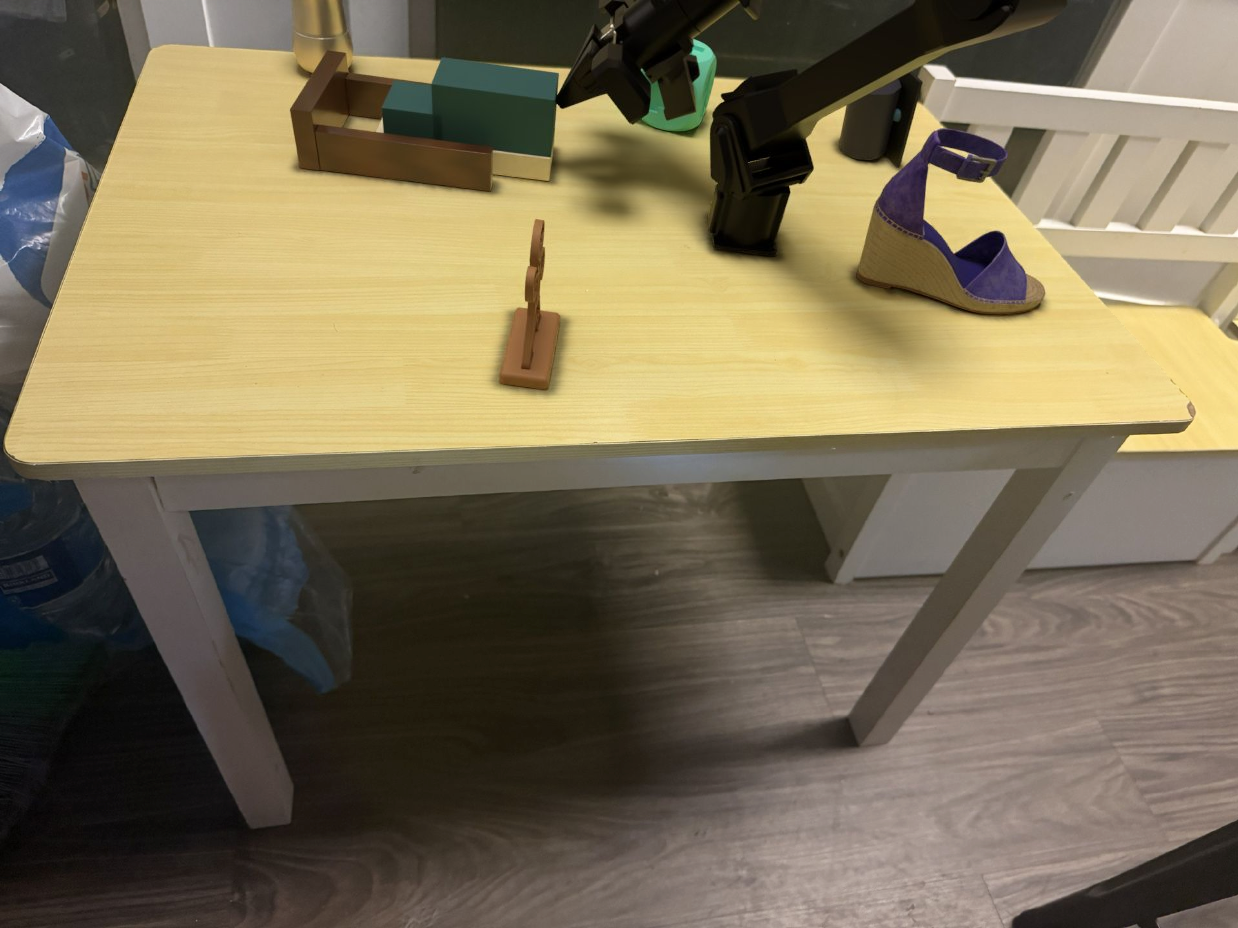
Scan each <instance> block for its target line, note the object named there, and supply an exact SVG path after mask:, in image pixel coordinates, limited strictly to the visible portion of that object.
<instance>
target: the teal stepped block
mask: <svg viewBox="0 0 1238 928" xmlns="http://www.w3.org/2000/svg"><path fill="white" fill-rule="evenodd" d="M559 77H560V73H559V72H554V71H547V70H540V69H532V68H524V67H518V66H517V67H516V66H512V65H511V66H510V65H503V64H496V63H488V62H480V61H475V60H474V61H473V60H466V59H460V58H459V59H458V58H451V57H444V56H442V57H441V58H440V61H439V63H438V66H437V69H436V71H435V73H434V76H433V79H432V81H431V83H430V84H431V85H426V84H419V83H411V82H404V81H396V80H394V82H393V84H392V86H391V89H390V91H389V93H388V95H387V97H386V99H385V101H384V104H383V106H382V119H380V121H379V124H378V126H377V128H376V130H375V132H380V133H388V134H395V135H403V136H411V137H418V138H426V139H434V140H441V141H449V142H457V143H465V144H472V145H480V146H488V147H493V175H496V176H497V175H498V176H504V177H505V176H506V177H514V178H521V179H530V180H538V181H545V182H549V181H550V178H551V172H552V171H551V170H552V165H553V163H552V162H553V158H554V157H553V155H554V150H555V137H556V135H555V134H556V120H557V108H558V107H557V106H558V105H557V103H556V97H557V95H558V93H559V91H558V90H559Z"/></svg>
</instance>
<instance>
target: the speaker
mask: <svg viewBox="0 0 1238 928" xmlns="http://www.w3.org/2000/svg"><path fill="white" fill-rule="evenodd" d="M923 83H924V82H923V80H921V79H920V78H919V77H918V76H917V75H916V74H915V73H914V72H913V70H912V71H911V72H909V73H907V74H905V75H903V76H901V77H899V78H897V79H895V80H894V81H892V82H890V83H888V84H886V85H884V86H882V87H880V88H878V89H876V90H875V91H873V92H871V93H869V94H867V95H865V96H863V97H861V98H859V99H858V100H856V101H854V102H852V103H850V104H848V105H846V106H845V107H846V108H845V111H844V116H843V122H842V126H841V132H840V135H839V142H838V145H839V151H840V152H841V153H842V154H843V155H844V156H848V157H850V158H853V159H856V160H871V161H873V160H876V159H879V158H880V157H881V156H883V155H885V156H886V157H887V158H888V159H889V160H890V161H891V163H892V164H893V165H894V166H895V167H896V168H900V167H901V166H902V162H903V157H904V154H905V149H906V146H907V142H908V139H909V136H910V132H911V127H912V123H913V120H914V116H915V114H916V109H917V106H918V101H919V99H920V98H919V97H920V95H921V90H922V87H923Z"/></svg>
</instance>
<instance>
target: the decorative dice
mask: <svg viewBox="0 0 1238 928" xmlns="http://www.w3.org/2000/svg"><path fill="white" fill-rule="evenodd" d="M693 43H694V47H693V50H692V52H691V53H690V55H696V57H697V61H698V65H699V70H700V76H699V77H698V78H697V79H696V80H695V81H694V82H693V83H692V84H693V86H694V93H695V100H696V112H695V113H692V114H689V115H685V116H682V117H679V118H675V119H672V120H668V121H667V120H666V118H665V115H664V104H663V100H662V97H661V93H660V90H659V86H658V82H657V81H656V82H654V83H653V84H651V102H650V108H649V113H648V114H647V115H646V116H644V117H643V118H642V119H641V121H643V122H644V123H645V124H647V125H648V126H651V127H653V128H656V129H658V130H662V131H669V132H687V131H691V130H693V129H695V128H697V127H698V126H700V124H701V123H702V121H703V118H704V116H705V113H706V110H707V107H708V105H709V101H710V97H711V94H712V90H713V85H714V81H715V76H716V71H717V57H716V55H715V53H714V52H713V50H712V49H711V47H709V46H708V45H707V44H705V43H704V42H701V41H699V40H697V39H695V38H693ZM641 71H642V72H643V74H644V75H645V72H644V71H643V69H641ZM645 77H646V75H645ZM646 78H647V77H646ZM647 79H648V78H647ZM648 81H649V80H648ZM649 82H650V81H649ZM650 83H651V82H650Z"/></svg>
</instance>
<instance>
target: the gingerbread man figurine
mask: <svg viewBox="0 0 1238 928" xmlns="http://www.w3.org/2000/svg"><path fill="white" fill-rule="evenodd" d="M545 228H546V227H545V220H544V219H538V218H535V220H534V223H533V228H532V234H531V241H530V248H529V249H530V250H529V265H528V266H527V268H526V274H525V282H524V301H525V302H526V303H527V307H520V306H519V307H516V308H515V310H514V314H513V318H512V323H511V327H510V331H509V334H508V339H507V342H506V347H505V351H504V355H503V359H502V363H501V366H500V372H499V383H500V384H502V385H509V386H516V387H522V388H531V389H536V390H537V389H538V390H547V389H549V385H550V380H551V379H550V378H551V375H552V374H551V373H552V368H553V362H554V357H555V352H556V347H557V340H558V335H559V330H560V324H561V315H560V313H558V312H556V311H555V312H554V311H549V310H541V283H542V282H541V281H543V279H544V272H545V263H546V262H545V260H546V247H545V246H544V241H545Z"/></svg>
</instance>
